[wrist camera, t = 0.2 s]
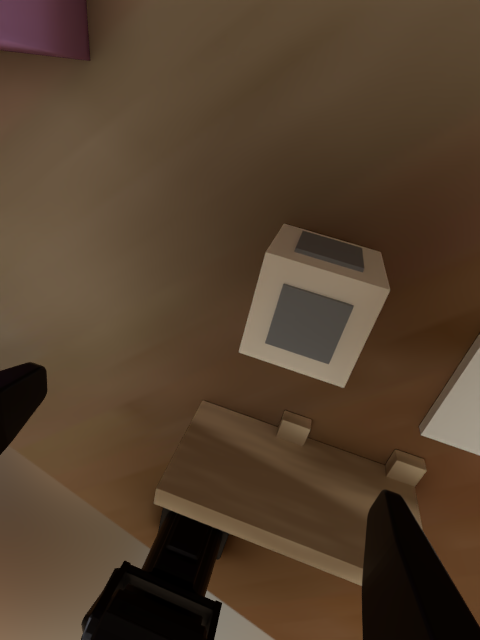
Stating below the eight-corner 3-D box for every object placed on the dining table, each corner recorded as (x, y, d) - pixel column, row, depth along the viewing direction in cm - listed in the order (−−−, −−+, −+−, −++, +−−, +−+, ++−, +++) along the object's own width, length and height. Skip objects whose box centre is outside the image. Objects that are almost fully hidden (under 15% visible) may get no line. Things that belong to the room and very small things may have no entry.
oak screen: (393, 502, 28) (407, 623, 22) (195, 429, 30) (150, 520, 23) (424, 459, 26) (451, 580, 19) (206, 382, 28) (159, 468, 21)
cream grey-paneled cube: (344, 334, 23) (343, 390, 18) (260, 306, 24) (237, 354, 19) (382, 248, 20) (392, 287, 16) (285, 219, 21) (265, 248, 16)
